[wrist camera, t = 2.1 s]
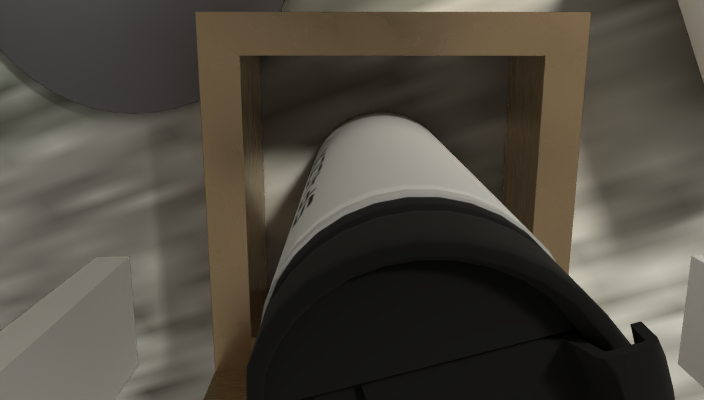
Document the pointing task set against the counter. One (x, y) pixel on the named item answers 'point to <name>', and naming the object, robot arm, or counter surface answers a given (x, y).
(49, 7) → the mat
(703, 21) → the mug
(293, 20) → the brown wooden open box
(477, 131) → the counter surface
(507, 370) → the travel mug
